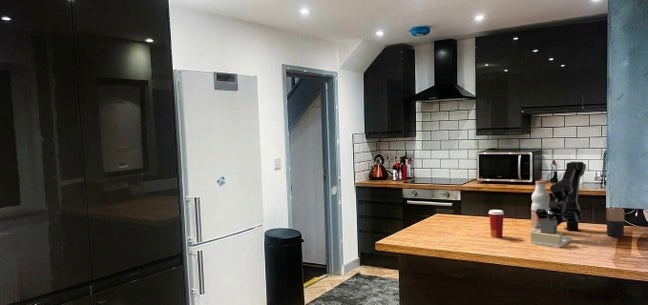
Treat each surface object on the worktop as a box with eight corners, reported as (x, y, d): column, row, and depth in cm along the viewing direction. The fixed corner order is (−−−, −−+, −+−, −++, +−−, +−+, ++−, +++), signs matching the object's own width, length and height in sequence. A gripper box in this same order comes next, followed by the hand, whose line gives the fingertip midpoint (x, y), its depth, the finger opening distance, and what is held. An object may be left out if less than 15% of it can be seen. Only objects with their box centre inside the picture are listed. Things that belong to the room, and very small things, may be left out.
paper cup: (504, 235, 236) (504, 209, 235) (504, 238, 229) (503, 212, 228) (489, 234, 239) (488, 209, 238) (488, 237, 232) (487, 211, 231)
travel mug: (627, 238, 221) (627, 199, 220) (610, 238, 223) (610, 199, 222) (620, 234, 229) (620, 196, 228) (604, 234, 230) (603, 197, 229)
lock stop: (544, 237, 221) (544, 218, 221) (557, 239, 217) (556, 219, 216) (540, 239, 218) (540, 219, 217) (553, 241, 213) (553, 221, 213)
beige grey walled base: (545, 236, 231) (544, 225, 231) (572, 239, 222) (571, 229, 222) (530, 243, 218) (530, 232, 218) (559, 247, 209) (559, 236, 208)
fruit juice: (539, 228, 248) (539, 179, 247) (554, 232, 239) (553, 181, 238) (527, 230, 244) (527, 181, 243) (542, 234, 236) (541, 182, 235)
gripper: (536, 193, 230) (528, 217, 223) (575, 196, 217) (569, 222, 210) (542, 205, 236) (535, 229, 229) (580, 209, 223) (574, 235, 216)
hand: (552, 229), depth 221 cm, fingers closed
